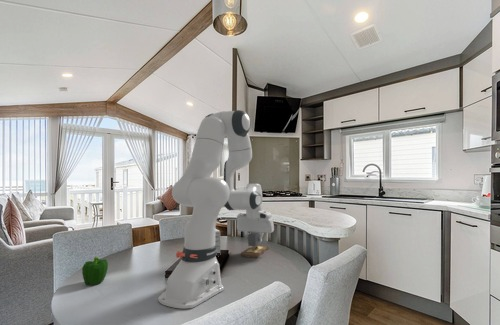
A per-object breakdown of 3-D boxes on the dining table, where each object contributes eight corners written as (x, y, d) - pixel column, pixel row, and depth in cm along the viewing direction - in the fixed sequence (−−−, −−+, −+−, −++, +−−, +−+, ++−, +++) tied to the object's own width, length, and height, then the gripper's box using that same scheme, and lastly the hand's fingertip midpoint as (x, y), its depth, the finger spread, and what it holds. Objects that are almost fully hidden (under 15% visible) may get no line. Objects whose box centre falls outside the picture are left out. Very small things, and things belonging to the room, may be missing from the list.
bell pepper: (85, 280, 94) (85, 254, 94) (109, 277, 97) (109, 251, 97) (78, 289, 86) (79, 260, 87) (104, 285, 89) (105, 257, 90)
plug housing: (255, 246, 121) (255, 235, 121) (248, 245, 122) (248, 234, 123) (262, 241, 129) (261, 231, 129) (255, 241, 131) (254, 231, 131)
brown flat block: (257, 257, 116) (257, 245, 116) (240, 255, 120) (240, 244, 120) (268, 248, 131) (268, 238, 131) (253, 247, 134) (253, 236, 135)
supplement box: (202, 254, 124) (202, 229, 125) (216, 252, 127) (216, 228, 128) (206, 258, 117) (206, 232, 118) (220, 256, 120) (220, 230, 121)
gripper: (234, 214, 128) (234, 240, 127) (270, 215, 120) (271, 243, 119) (239, 212, 134) (240, 237, 133) (274, 213, 125) (275, 240, 124)
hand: (255, 240), depth 126 cm, fingers closed on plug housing, 4 cm apart
